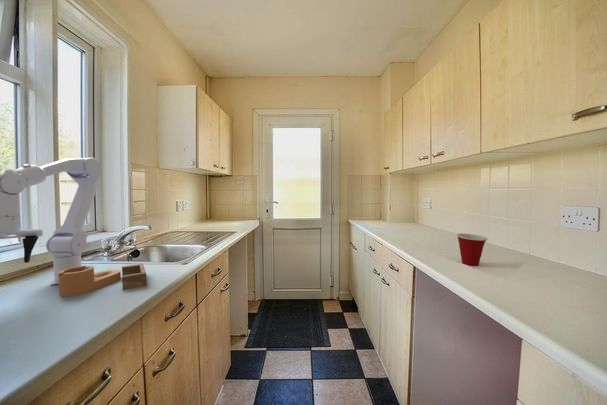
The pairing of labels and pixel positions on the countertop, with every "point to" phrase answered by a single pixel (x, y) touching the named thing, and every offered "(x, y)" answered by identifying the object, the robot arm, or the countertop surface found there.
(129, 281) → the jig
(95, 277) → the bracket
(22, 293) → the countertop surface
